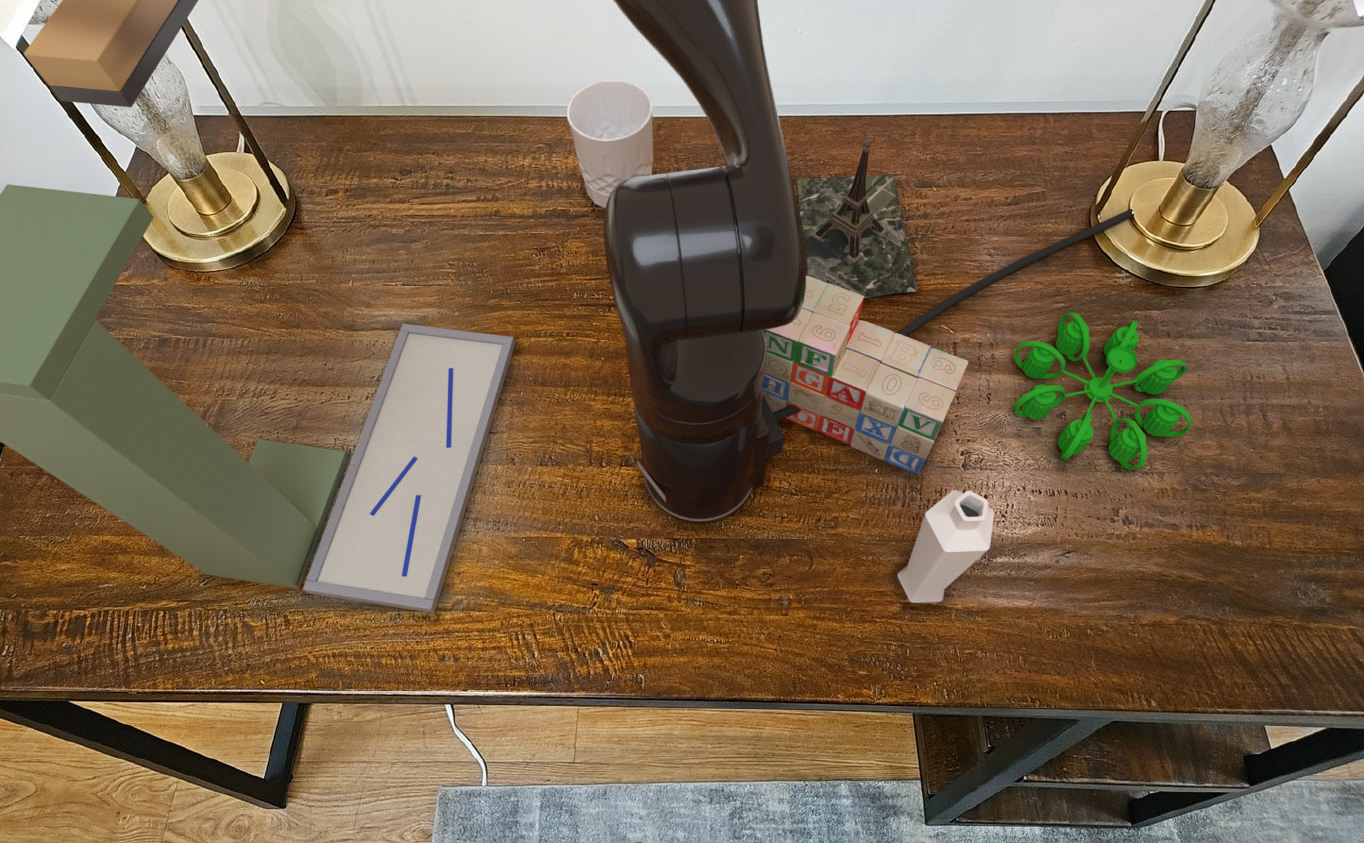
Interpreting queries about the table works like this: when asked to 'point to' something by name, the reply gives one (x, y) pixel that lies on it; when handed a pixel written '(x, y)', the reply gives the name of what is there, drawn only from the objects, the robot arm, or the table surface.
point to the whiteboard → (412, 470)
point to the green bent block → (136, 404)
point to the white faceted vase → (947, 545)
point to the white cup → (611, 135)
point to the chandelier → (1102, 390)
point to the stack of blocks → (859, 378)
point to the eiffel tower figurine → (856, 232)
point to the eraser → (105, 47)
